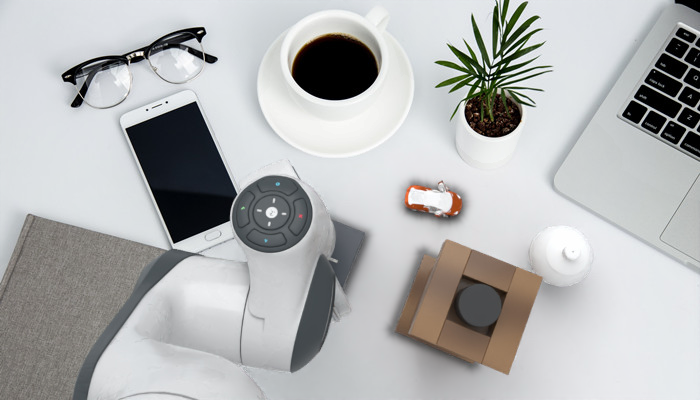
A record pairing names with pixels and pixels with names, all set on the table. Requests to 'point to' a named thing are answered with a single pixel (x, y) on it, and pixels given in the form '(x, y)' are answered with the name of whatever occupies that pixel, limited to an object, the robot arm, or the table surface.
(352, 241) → the control panel
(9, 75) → the table surface
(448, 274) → the button stand
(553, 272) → the white lidded jar
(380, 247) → the table surface
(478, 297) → the button
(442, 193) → the toy car
